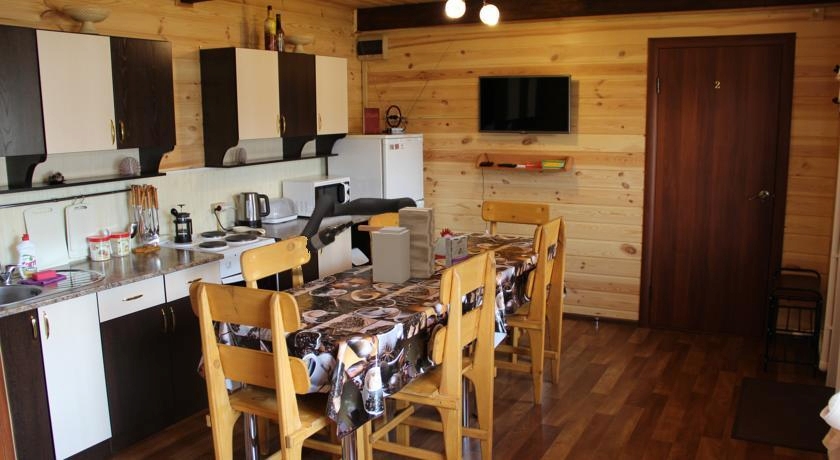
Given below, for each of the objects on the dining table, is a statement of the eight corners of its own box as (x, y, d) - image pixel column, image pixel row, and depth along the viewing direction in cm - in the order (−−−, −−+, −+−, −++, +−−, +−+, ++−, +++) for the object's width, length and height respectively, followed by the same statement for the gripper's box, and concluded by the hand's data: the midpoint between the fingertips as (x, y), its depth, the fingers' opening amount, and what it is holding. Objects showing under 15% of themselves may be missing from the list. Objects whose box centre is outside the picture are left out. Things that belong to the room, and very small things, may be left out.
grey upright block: (382, 276, 357) (381, 228, 353) (410, 277, 352) (409, 230, 348) (373, 281, 346) (371, 232, 342) (401, 283, 341) (400, 234, 337)
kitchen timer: (428, 255, 403) (428, 228, 401) (448, 252, 412) (448, 225, 409) (445, 259, 392) (444, 231, 390) (464, 256, 401) (464, 228, 398)
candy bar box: (461, 267, 374) (461, 235, 371) (468, 269, 370) (468, 236, 367) (445, 270, 367) (444, 237, 364) (451, 272, 363) (451, 239, 360)
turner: (363, 228, 354) (363, 224, 354) (406, 230, 347) (406, 226, 347) (355, 231, 346) (355, 227, 346) (399, 233, 339) (399, 229, 338)
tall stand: (407, 271, 366) (406, 206, 360) (434, 273, 361) (434, 207, 356) (399, 276, 356) (398, 210, 350) (427, 278, 351) (426, 211, 345)
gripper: (312, 234, 351) (338, 218, 345) (326, 229, 364) (351, 214, 358) (319, 248, 351) (346, 233, 345) (333, 243, 364) (359, 228, 358)
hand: (349, 223), depth 352 cm, fingers open, 8 cm apart
